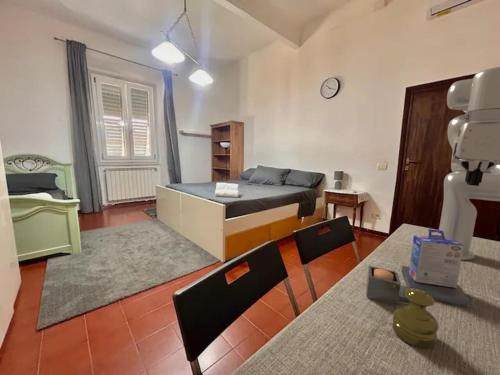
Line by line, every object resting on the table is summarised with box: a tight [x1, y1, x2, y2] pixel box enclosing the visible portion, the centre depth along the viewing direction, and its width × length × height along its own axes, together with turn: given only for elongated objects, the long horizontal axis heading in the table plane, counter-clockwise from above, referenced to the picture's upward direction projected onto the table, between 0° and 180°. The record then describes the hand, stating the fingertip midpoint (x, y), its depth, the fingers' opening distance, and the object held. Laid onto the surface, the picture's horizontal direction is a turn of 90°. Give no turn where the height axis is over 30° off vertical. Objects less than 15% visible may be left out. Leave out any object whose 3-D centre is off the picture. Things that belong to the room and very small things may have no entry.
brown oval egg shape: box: [373, 268, 394, 281], centre depth 59 cm, size 4×4×6 cm
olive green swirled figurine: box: [392, 288, 440, 350], centre depth 46 cm, size 7×7×10 cm
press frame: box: [365, 265, 470, 309], centre depth 62 cm, size 21×22×6 cm
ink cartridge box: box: [409, 228, 464, 288], centre depth 62 cm, size 10×6×14 cm, turn 75°
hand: (472, 185), depth 63 cm, fingers closed
